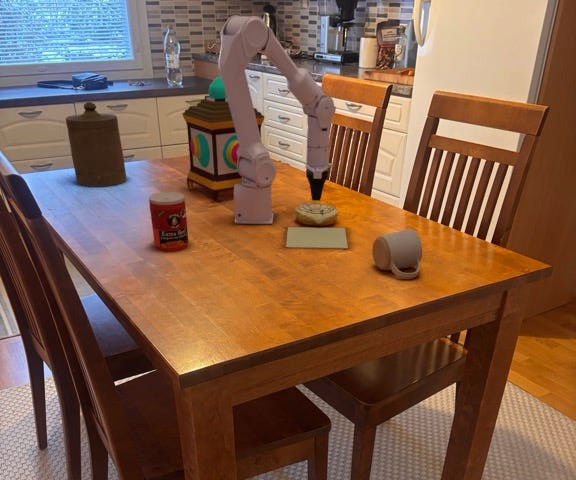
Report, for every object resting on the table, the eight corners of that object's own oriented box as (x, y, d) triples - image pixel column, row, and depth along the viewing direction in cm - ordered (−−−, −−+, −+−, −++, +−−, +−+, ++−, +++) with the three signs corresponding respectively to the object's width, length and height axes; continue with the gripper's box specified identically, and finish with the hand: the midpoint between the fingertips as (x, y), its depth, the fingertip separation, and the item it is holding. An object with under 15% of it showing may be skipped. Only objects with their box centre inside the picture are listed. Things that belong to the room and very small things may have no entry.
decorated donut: (323, 230, 141) (323, 215, 139) (287, 222, 146) (287, 207, 144) (344, 220, 148) (345, 205, 146) (309, 213, 153) (310, 198, 151)
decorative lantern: (273, 194, 168) (272, 77, 152) (213, 205, 159) (205, 82, 142) (238, 179, 182) (234, 71, 166) (181, 188, 173) (170, 75, 156)
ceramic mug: (368, 264, 123) (371, 228, 119) (401, 258, 126) (405, 223, 122) (394, 283, 115) (399, 246, 111) (429, 277, 118) (435, 240, 114)
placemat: (286, 247, 132) (286, 246, 131) (288, 227, 143) (288, 227, 143) (347, 248, 131) (347, 247, 131) (344, 228, 143) (344, 228, 143)
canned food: (160, 254, 128) (154, 203, 122) (150, 242, 134) (144, 194, 128) (193, 248, 131) (189, 199, 125) (182, 237, 137) (177, 190, 131)
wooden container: (105, 172, 188) (93, 97, 176) (136, 179, 181) (126, 101, 169) (66, 182, 178) (51, 103, 166) (98, 189, 171) (84, 108, 159)
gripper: (334, 152, 141) (332, 208, 149) (332, 140, 153) (330, 192, 161) (305, 151, 141) (304, 207, 149) (306, 140, 153) (304, 192, 161)
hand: (316, 200), depth 155 cm, fingers closed
